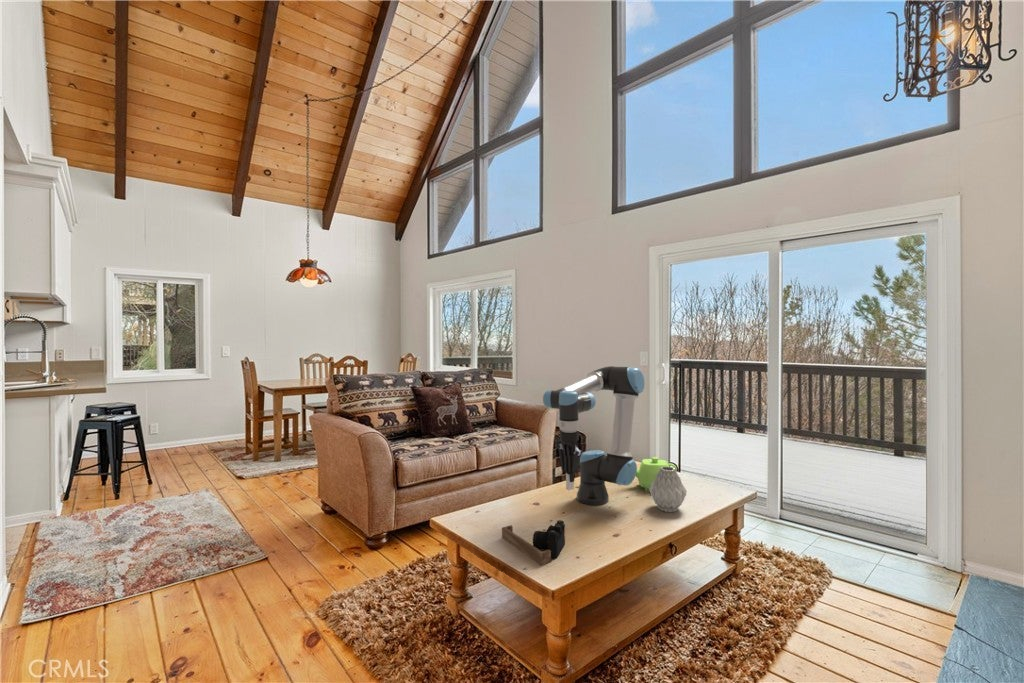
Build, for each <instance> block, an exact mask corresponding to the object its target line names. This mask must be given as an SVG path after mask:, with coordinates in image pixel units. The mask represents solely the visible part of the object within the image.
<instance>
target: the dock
mask: <svg viewBox="0 0 1024 683" xmlns="http://www.w3.org/2000/svg"><path fill="white" fill-rule="evenodd" d="M513 530H514V529H513V525H511V524H510V525H507V526H503V527H501V538H502V539H503V540H505V541H506V542H508V543H509V544H510V545H512V547H513V546H514V547H515V548H516V549H518V550H519V551H520V552H522V553H523V554H524V555H526V556H527V557H529V558H530V559H532V560H533V561H535V562H536V563H537V564H538V565H540V566H544V565H545V564H546V565H547V564H549V563H551V562H552V559H551V550H541V549H537V548H536V547H534V546H533V544H532V543H530V542H528V541H526V540H525V539H524V538H522V537H521V536H520V535H518V534H516V533H514V532H513Z"/></svg>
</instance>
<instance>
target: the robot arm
mask: <svg viewBox="0 0 1024 683" xmlns="http://www.w3.org/2000/svg"><path fill="white" fill-rule="evenodd" d="M644 389H645V377H644V374H643V372H642V370H641V369H640V368H637V367H631V366H613V365H612V366H609V365H608V366H605V367H601V368H598V369H595V370H593V371H591V372H588V373H587V375H586V376H585V377H582V378H581V379H578V380H576V381H575V382H571V383H570V384H568V385H566V386H563V387H560V388H559V389H555V390H552V389H551V390H546V391H545V392H544V394H543V397H542V403H543V405H544V406H545V407H546V408H549V409H554V410H555V409H558V410H559V411H558V414H559V440H560V441H561V442H560V443H559V444H557V446H556V448H557V450H558V456H559V460H560V466H561V470H562V471H564V474H565V490H567V491H571V490H574V489H575V474H578V473H579V476H580V478H579V480H580V481H579V487H578V491H577V492H576V500H577V501H578V502H579V503H581V504H584V505H589V506H601V505H604V504H607V503H608V502H609V500H610V498H609V493H608V489H607V487H606V482H607V483H610V484H616V485H618V486H627V487H628V486H629V485H631V484H632V482H633V481H634V480H635V478H636V472H637V469H638V466H637V462H636V461H635V460H634V459H633V457H634V456H633V454H632V453H631V445H632V444H631V443H632V433H633V424H634V423H633V420H634V411H635V402H636V399H638V398H639V395H640V394H641V393H643V392H644ZM606 390H607V391H613V393H612V394H613V396H614V397H615V403H614V405H615V406H614V415H613V424H612V425H613V426H612V435H611V436H612V437H611V443H610V444H611V445H610V446H611V447H610V450H608V451H607V453H605V451H604V450H599V449H597V450H595V449H593V450H587V451H584V452H583V450H581V449H579V446H578V441H579V440H580V438H579V437H580V436H579V434H580V432H579V429H580V427H579V425H580V424H579V423H580V422H579V414H580V413H585V412H588V411H591V410H592V409H594V407H595V406H596V397H595V396H594V395H593V393H592V392H599V391H606ZM633 460H634V461H633Z"/></svg>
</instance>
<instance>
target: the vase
mask: <svg viewBox="0 0 1024 683" xmlns="http://www.w3.org/2000/svg"><path fill="white" fill-rule="evenodd" d="M649 490H650V491H649V492H650V495H651V497H652V499H653V502H654V504H655V505H656V506H657V508H658V510H660V511H663V512H666V513H667V512H669V513H673V512H674V513H675V512H678V510H679V508H680V506H682V504H683V503H684V500H685V498H686V496H687V491H688V490H687V489H686V487H685V486H684V484H683V483H682V479H681V477H680V476H679V474H678V472H676V471H675V468H674V467H672V466H669V467H661V468H660V470H659V472H658V473H657V474H656V476H655V479H654V481H653V482H652V484H651V486H650V487H649Z"/></svg>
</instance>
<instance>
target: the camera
mask: <svg viewBox="0 0 1024 683" xmlns="http://www.w3.org/2000/svg"><path fill="white" fill-rule="evenodd" d="M565 531H566V525H565V521H564V520H563V519H560V520H556V523H555V524H554V525H552V524H549V526H548V527H547V529H546V530H545V531H544V530H535V531H534V533H533V536H532V545H533V546H534V547H536V548H537V549H539V550H540V551H545V550H551V560H556V559H558V558H559V556H560V555H561V552H562V551H563V549H564V548H565V544H566V532H565Z"/></svg>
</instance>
